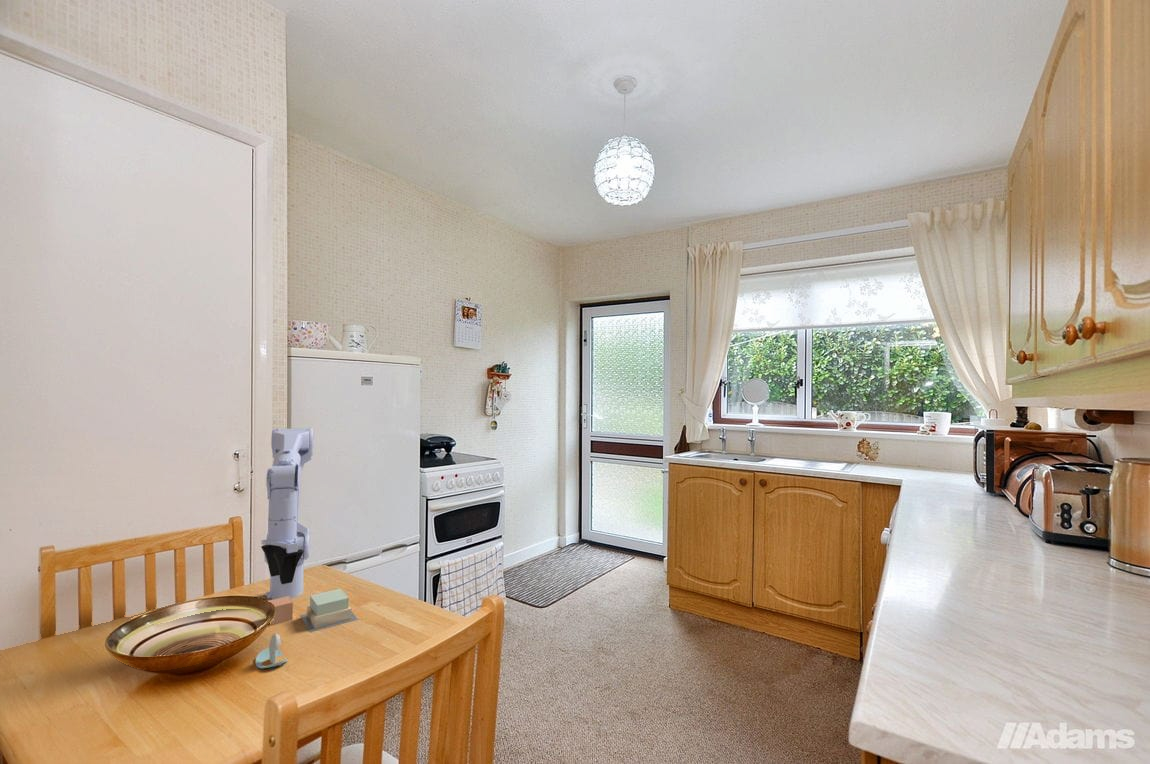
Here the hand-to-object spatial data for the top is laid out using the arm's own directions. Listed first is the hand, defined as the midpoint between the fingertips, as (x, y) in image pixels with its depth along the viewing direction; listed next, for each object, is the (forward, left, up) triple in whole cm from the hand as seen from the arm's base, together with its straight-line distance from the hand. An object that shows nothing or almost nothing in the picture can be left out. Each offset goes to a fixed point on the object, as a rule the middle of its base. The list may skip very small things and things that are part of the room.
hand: (281, 579), depth 116 cm
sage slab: (+5, +9, -7) cm, 12 cm away
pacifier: (+18, -5, -11) cm, 21 cm away
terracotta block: (-1, 0, -11) cm, 11 cm away
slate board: (+5, +9, -11) cm, 15 cm away
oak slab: (+5, +9, -10) cm, 14 cm away
